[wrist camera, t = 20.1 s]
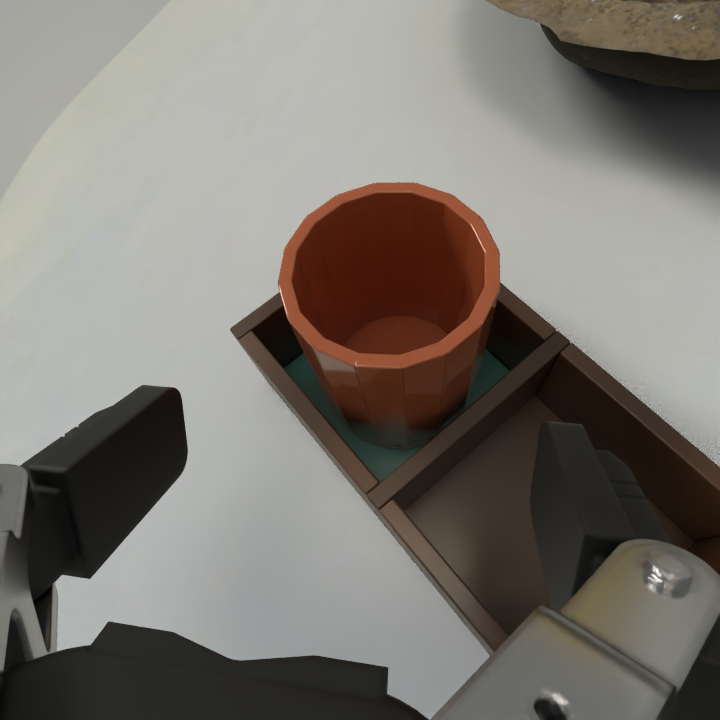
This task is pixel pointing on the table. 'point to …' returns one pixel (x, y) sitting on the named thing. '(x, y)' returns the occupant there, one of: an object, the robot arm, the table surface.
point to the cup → (392, 307)
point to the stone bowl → (633, 37)
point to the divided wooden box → (496, 461)
